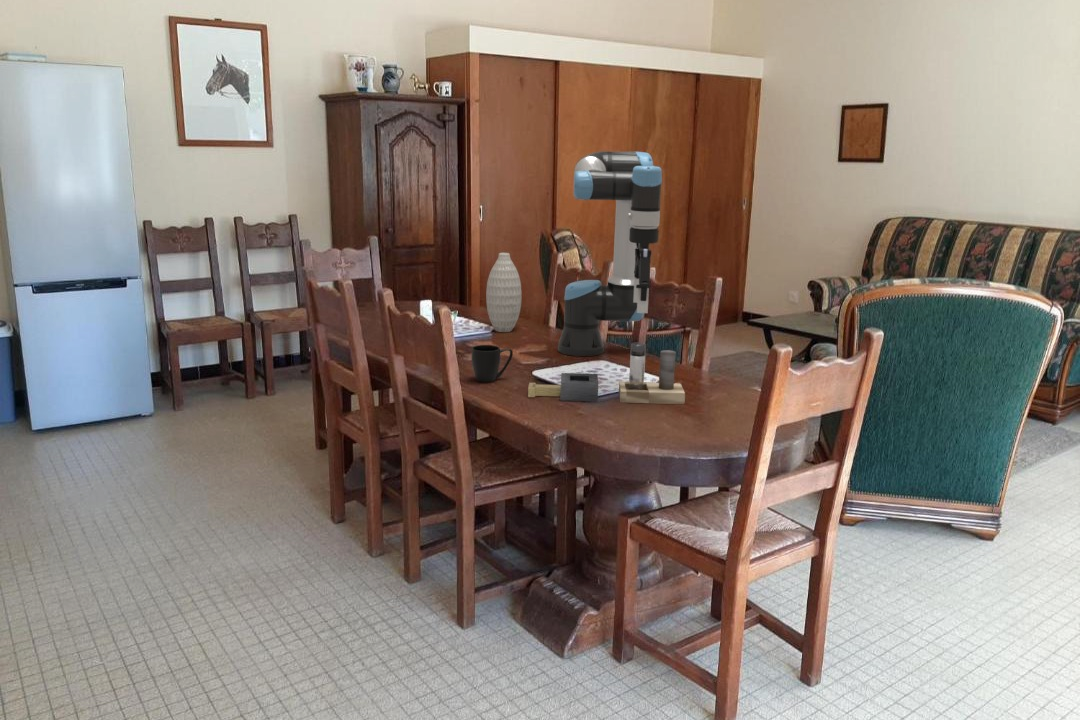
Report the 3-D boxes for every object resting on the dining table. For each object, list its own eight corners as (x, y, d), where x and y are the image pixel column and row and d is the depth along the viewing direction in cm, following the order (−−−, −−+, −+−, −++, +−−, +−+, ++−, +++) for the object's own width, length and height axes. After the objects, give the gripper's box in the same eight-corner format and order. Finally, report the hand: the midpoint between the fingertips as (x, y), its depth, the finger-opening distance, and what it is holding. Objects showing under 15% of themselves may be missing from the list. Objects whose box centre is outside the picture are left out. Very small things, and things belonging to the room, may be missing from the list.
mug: (515, 382, 246) (516, 350, 244) (474, 384, 243) (474, 352, 240) (508, 374, 254) (509, 343, 251) (469, 377, 250) (469, 345, 248)
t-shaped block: (529, 391, 237) (529, 382, 237) (568, 392, 237) (569, 383, 236) (528, 397, 231) (528, 388, 231) (568, 398, 231) (569, 389, 231)
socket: (560, 390, 239) (561, 372, 238) (596, 391, 239) (597, 373, 237) (560, 400, 229) (560, 382, 228) (597, 401, 229) (598, 383, 228)
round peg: (642, 395, 235) (645, 342, 232) (643, 399, 232) (646, 345, 228) (627, 395, 236) (630, 342, 232) (628, 399, 232) (631, 345, 228)
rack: (618, 391, 238) (620, 346, 235) (679, 393, 238) (682, 348, 235) (620, 402, 229) (622, 355, 226) (684, 404, 228) (687, 356, 225)
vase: (506, 325, 322) (507, 250, 315) (528, 331, 313) (529, 254, 306) (479, 329, 314) (479, 252, 307) (500, 335, 305) (500, 256, 298)
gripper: (626, 221, 234) (623, 298, 240) (633, 232, 210) (629, 317, 216) (654, 222, 234) (650, 298, 240) (663, 233, 210) (659, 317, 216)
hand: (640, 307), depth 228 cm, fingers open, 13 cm apart
